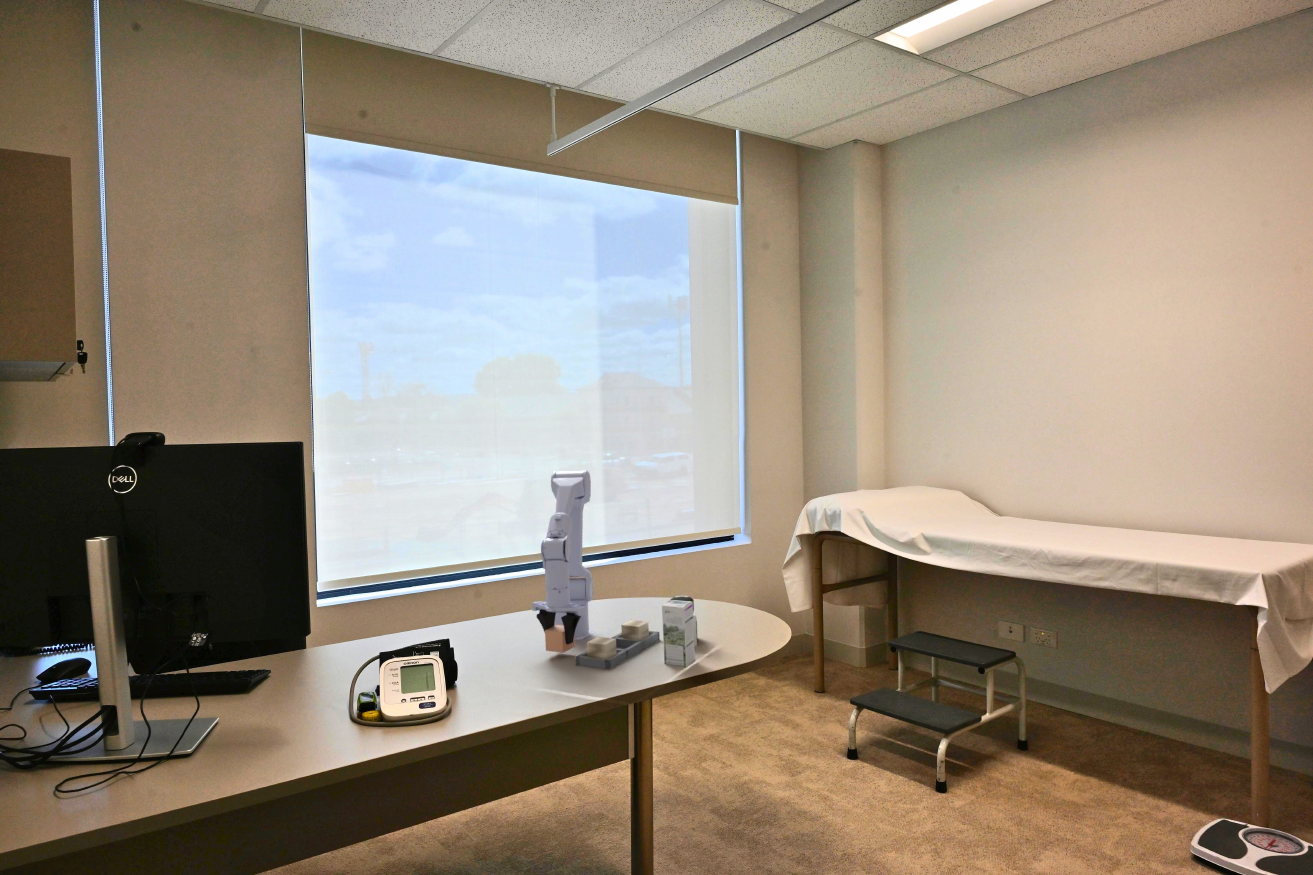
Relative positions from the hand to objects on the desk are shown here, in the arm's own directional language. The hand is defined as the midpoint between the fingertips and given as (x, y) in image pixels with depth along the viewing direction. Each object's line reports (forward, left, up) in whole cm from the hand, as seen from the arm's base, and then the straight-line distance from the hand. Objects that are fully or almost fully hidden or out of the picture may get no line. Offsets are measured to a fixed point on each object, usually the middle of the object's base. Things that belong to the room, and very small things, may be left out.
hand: (560, 641), depth 199 cm
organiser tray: (+12, +8, -4) cm, 15 cm away
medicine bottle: (+23, +21, -4) cm, 31 cm away
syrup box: (+29, +7, -4) cm, 30 cm away
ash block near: (+12, 0, -3) cm, 12 cm away
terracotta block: (0, 0, -2) cm, 2 cm away
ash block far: (+12, +16, -3) cm, 20 cm away
